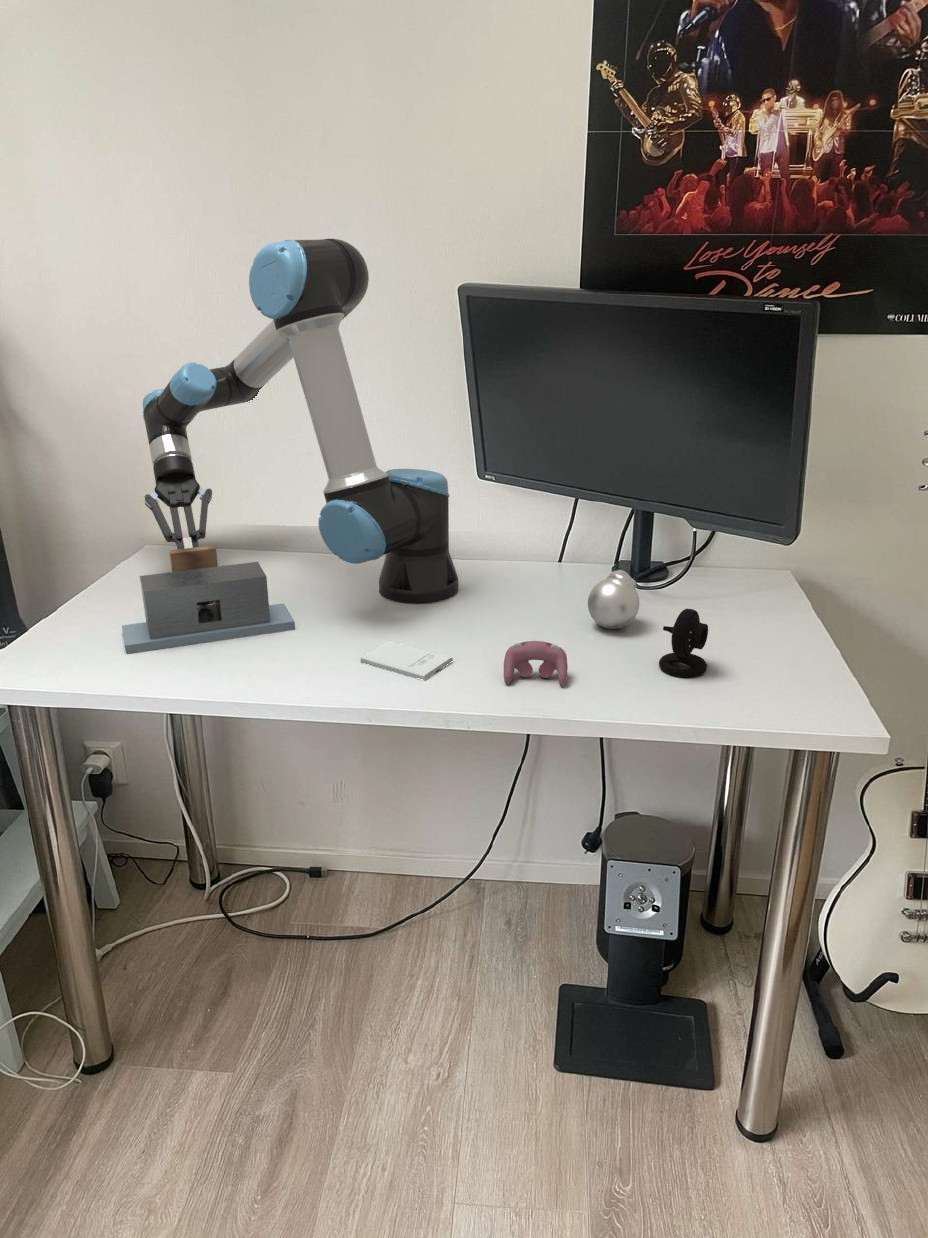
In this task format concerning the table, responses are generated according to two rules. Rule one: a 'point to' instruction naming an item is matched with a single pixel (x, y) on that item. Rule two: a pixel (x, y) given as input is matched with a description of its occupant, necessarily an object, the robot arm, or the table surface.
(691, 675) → the webcam
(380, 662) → the external hard drive
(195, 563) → the brown wooden block
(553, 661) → the video game controller
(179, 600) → the housing
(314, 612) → the table surface
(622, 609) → the silver bulbous ornament
